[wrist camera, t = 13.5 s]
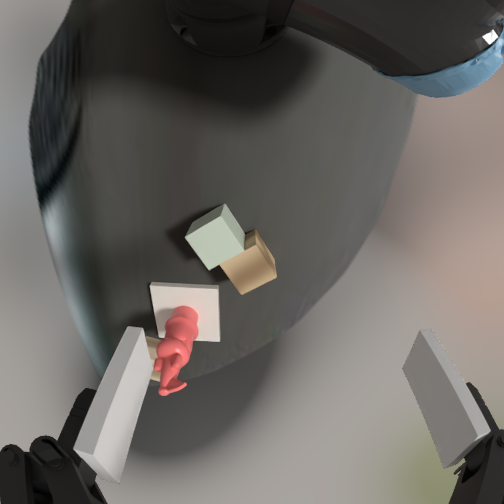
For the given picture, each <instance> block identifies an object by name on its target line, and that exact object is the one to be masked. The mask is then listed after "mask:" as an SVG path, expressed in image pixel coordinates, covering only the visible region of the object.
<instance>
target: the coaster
mask: <svg viewBox="0 0 504 504" xmlns="http://www.w3.org/2000/svg"><path fill="white" fill-rule="evenodd" d="M150 290H151V296H152V302H153V308H154V313H155V319H156V324H157V329H158V334H159V337H161V338H164V337H165V333H166V331H165V323H166V322H167V320H168V319H170V318H172V315H173V312H174V310H175V309H176V308H177V307H179V306H189V307H191V308H193V309H194V310H195V311H196V312H197V314H198V323H197V327H198V330H199V333H198V337H197V338H196V339H195V340H198V341H214V342H220V314H219V285H200V284H180V283H161V282H151V284H150Z"/></svg>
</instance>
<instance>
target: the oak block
mask: <svg viewBox="0 0 504 504" xmlns="http://www.w3.org/2000/svg"><path fill="white" fill-rule="evenodd" d="M219 265H220V266H221V267H222V269H223V270H224V272H225V273H226V274H227V276H228V277H229V279H230V280H231V281H232V283H233V284H234V285H235V287H236V288H237V289H238V291H239V292H240V294H241V295H242V294H244V293H246V292H248V291H250V290H253V289H255V288H257V287H259V286H261V285H263V284H265V283H266V282H268V281H270V280H272V279H274V278H276V277H277V275H276V268H275V261H274V258H273V256H272V255H271V253H270V251H269V250H268V248H267V247H266V245H265V243H264V242H263V240H262V239H261V237H260V236H259V234H258V232H257V231H256V229H255V230H253V231H251V232H249V233H247V234H246V235H245V249H244V251H243V252H241V253H240V254H238V255H236V256H234V257H232V258H230V259H228V260H227V261H225V262H223V263H221V264H219Z"/></svg>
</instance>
